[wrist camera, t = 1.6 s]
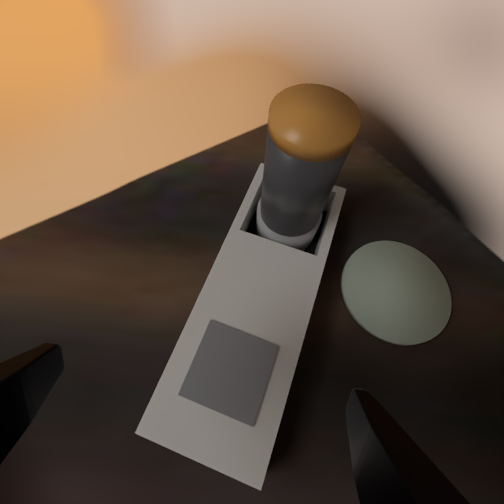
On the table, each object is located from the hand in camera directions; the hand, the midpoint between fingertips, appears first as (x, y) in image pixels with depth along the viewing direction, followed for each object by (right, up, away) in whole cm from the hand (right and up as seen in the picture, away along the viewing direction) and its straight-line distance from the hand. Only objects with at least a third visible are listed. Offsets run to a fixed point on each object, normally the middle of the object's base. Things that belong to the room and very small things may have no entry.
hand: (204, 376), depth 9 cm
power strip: (+2, 0, +15) cm, 15 cm away
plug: (+5, +6, +18) cm, 20 cm away
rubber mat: (+14, 0, +16) cm, 21 cm away
